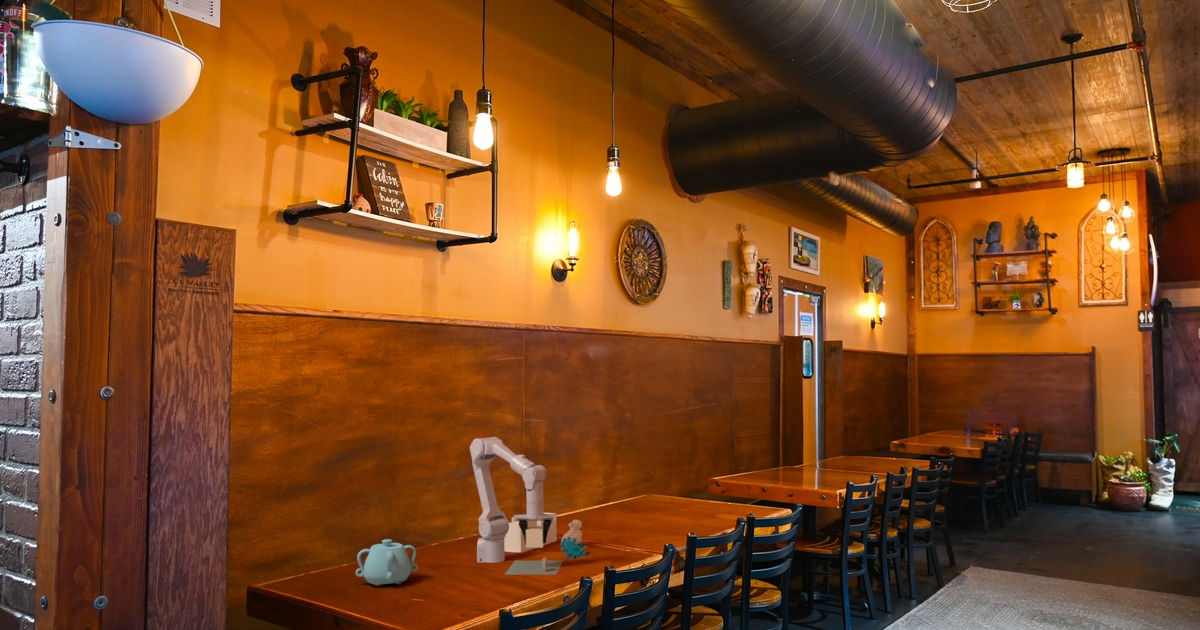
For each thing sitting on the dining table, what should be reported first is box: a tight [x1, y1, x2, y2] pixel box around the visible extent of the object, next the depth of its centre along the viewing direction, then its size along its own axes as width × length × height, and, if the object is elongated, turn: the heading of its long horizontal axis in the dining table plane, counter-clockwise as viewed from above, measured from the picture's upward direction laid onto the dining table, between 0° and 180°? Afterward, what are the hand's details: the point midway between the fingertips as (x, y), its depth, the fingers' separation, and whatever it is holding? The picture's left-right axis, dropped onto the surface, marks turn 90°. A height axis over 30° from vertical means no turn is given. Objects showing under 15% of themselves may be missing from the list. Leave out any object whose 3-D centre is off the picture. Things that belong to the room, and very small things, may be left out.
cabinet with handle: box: [526, 527, 546, 549], centre depth 282 cm, size 6×6×6 cm
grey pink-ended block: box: [541, 557, 548, 572], centre depth 276 cm, size 1×3×4 cm, turn 176°
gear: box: [559, 537, 588, 560], centre depth 299 cm, size 11×6×10 cm
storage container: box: [504, 512, 558, 553], centre depth 324 cm, size 25×11×11 cm, turn 151°
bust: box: [560, 518, 583, 548], centre depth 321 cm, size 12×8×11 cm
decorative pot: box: [355, 538, 419, 586], centre depth 270 cm, size 16×16×14 cm
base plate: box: [504, 560, 564, 576], centre depth 282 cm, size 17×20×1 cm
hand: (535, 542), depth 282 cm, fingers closed on cabinet with handle, 6 cm apart
